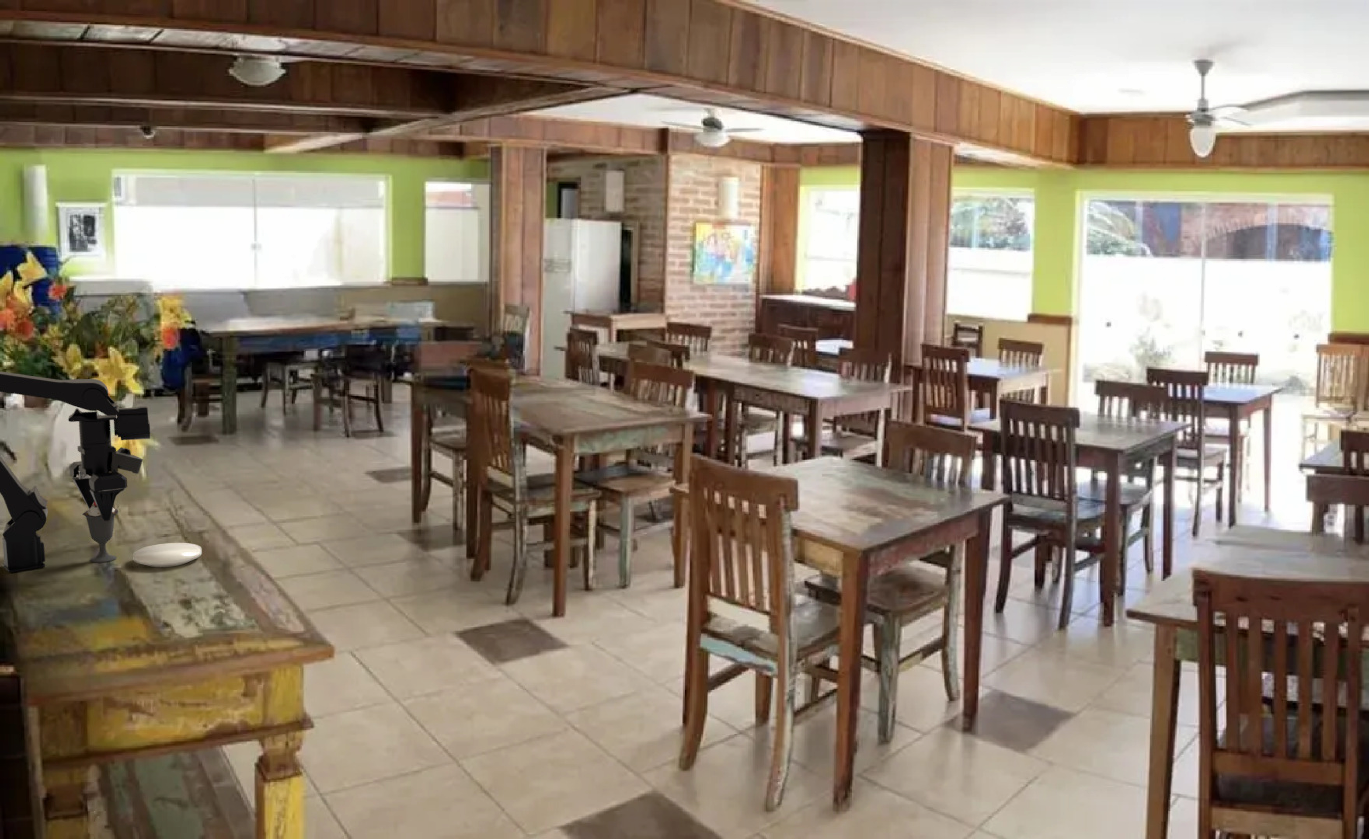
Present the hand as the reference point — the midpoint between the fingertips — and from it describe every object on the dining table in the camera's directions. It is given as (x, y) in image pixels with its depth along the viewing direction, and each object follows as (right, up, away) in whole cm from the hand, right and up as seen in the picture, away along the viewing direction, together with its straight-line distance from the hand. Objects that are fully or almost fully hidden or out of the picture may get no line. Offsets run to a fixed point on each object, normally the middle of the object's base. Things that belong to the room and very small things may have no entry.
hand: (100, 515), depth 247 cm
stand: (+13, -9, +2) cm, 16 cm away
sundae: (0, -9, +2) cm, 10 cm away
